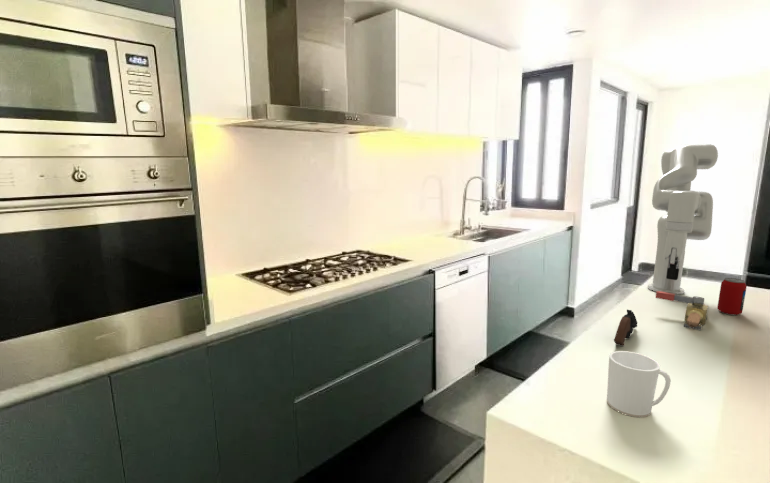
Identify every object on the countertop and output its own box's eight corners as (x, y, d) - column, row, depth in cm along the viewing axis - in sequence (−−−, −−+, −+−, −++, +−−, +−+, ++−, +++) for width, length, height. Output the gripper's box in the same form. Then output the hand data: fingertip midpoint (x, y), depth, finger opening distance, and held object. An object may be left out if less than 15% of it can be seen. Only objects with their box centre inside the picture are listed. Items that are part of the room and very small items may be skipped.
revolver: (610, 339, 113) (620, 301, 116) (621, 354, 126) (629, 320, 129) (624, 343, 111) (633, 304, 114) (633, 358, 124) (641, 322, 126)
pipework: (689, 310, 144) (691, 297, 143) (707, 314, 141) (710, 300, 140) (681, 327, 128) (683, 312, 127) (701, 332, 125) (704, 316, 124)
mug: (598, 405, 85) (603, 360, 83) (612, 390, 91) (616, 347, 90) (659, 429, 77) (666, 379, 76) (670, 410, 84) (676, 364, 82)
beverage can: (747, 316, 139) (753, 282, 137) (727, 316, 139) (732, 282, 137) (731, 309, 146) (736, 277, 144) (711, 309, 146) (717, 277, 144)
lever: (703, 305, 134) (704, 297, 133) (702, 307, 132) (703, 299, 131) (656, 296, 142) (657, 289, 142) (655, 298, 140) (656, 291, 140)
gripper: (669, 224, 147) (662, 274, 150) (662, 227, 136) (655, 280, 139) (694, 226, 143) (687, 277, 145) (689, 229, 132) (682, 284, 134)
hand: (671, 279), depth 142 cm, fingers closed
